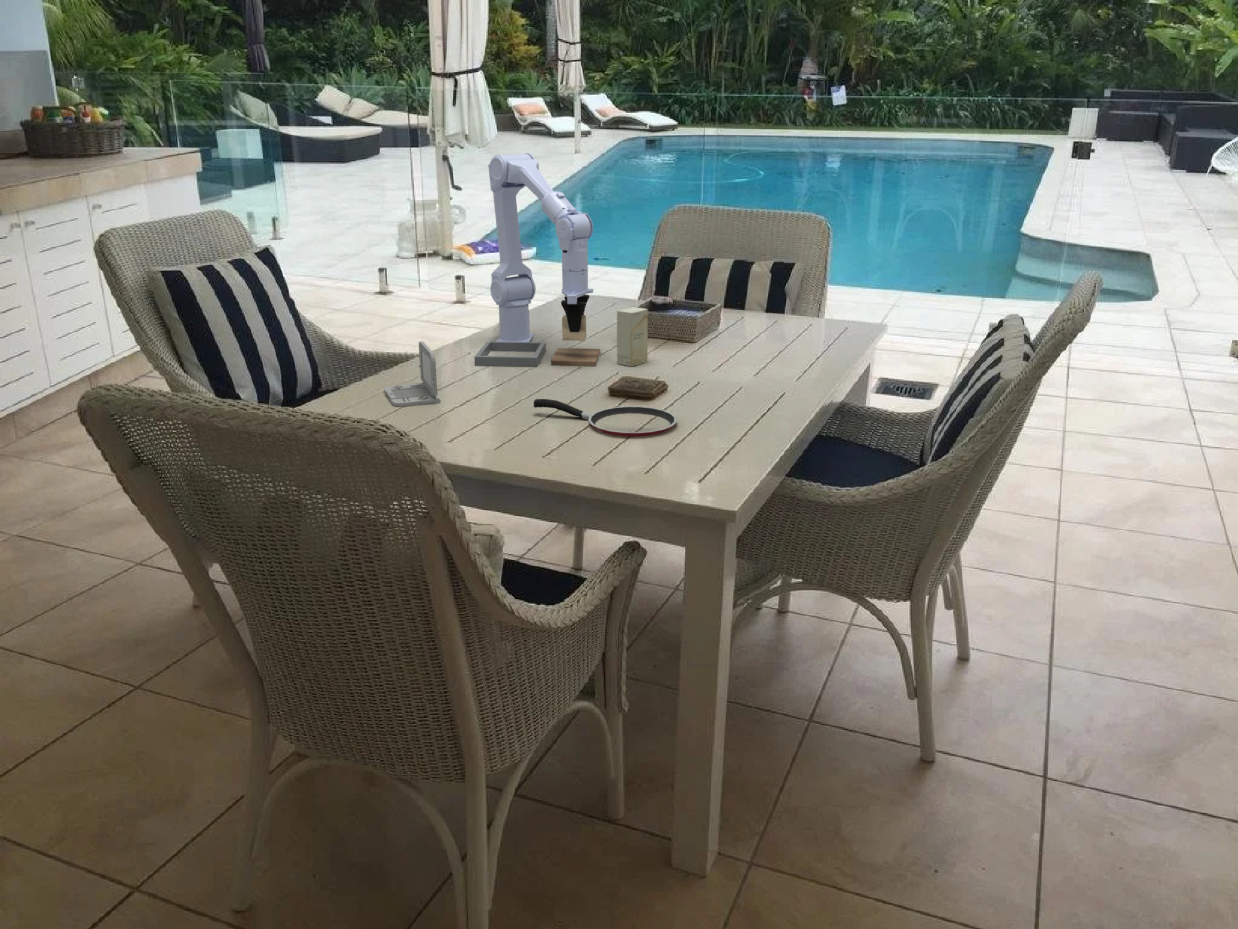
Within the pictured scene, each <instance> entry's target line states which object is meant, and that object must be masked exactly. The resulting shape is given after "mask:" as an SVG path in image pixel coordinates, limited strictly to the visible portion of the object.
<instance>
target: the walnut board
mask: <svg viewBox="0 0 1238 929" xmlns="http://www.w3.org/2000/svg"><path fill="white" fill-rule="evenodd" d="M600 354H601V348H572V347H571V348H570V347H569V348H566V347H563V348H561V347H557V348H556V351H554V355H553V356H552V359H551V360H550V366H570V367H571V366H576V367H596V366H597V363H598V360H599V357H600Z"/></svg>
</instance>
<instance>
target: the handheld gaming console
mask: <svg viewBox="0 0 1238 929" xmlns="http://www.w3.org/2000/svg"><path fill="white" fill-rule="evenodd" d="M418 355H419V356H418V357H419V366H418V367H419V370H420V373H419V374H420V381H421V382H413V383H411V384H409V383H407V384H398V385H387V386H384V388H383V390H384V391H383V392H384V394H385V395H386V397H387V398H388V400H389V401H390V403H391V405H392V406H394V407H400V408H401V407H412V406H421V405H430V404H440V403H441V399H440V397H439V396H438V382H437V365H436V364H437V363H436V356H435V353H434V351H433V350H432V349H431V348H430V347H429V346H428V345H427V344H426V343H425V342H424V341H419V342H418Z"/></svg>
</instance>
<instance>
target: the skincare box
mask: <svg viewBox="0 0 1238 929" xmlns="http://www.w3.org/2000/svg"><path fill="white" fill-rule="evenodd" d="M648 311H649V310H648V308H644V307H642V308H641V307H635V306H631V307H628V308H623V309H620V310H619V309H618V310H616V363H617V365H623V366H628V367H634V366H638V365H641V364H646V363H647V362H648V343H649V341H648V336H649V334H648V333H649V332H648V331H649V330H648V329H649V328H648V324H649V323H648V322H649V321H648V320H649V319H648V318H649V316H648V314H649V313H648Z"/></svg>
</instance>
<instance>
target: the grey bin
mask: <svg viewBox="0 0 1238 929" xmlns="http://www.w3.org/2000/svg"><path fill="white" fill-rule="evenodd" d="M483 344H484V345H483V346H482V347H481V348H480V349H479V350H478V351H477V353H476V354H475V355H474V358H473V359H474V366H479V367H482V366H483V367H491V366H492V367H525V368H526V367H529V368H530V367H532V368H533V367H535V368H536V367H538V366H539V365H540V362H541V361H542V359H543V356H544V355H545V352H546V350H547V347H546V346H547V344H546V342H545V341H544V342H542V341H541V342H540V341H530V342H498V341H497V340H495V341H493V340H492V341H488V340H487V341H485V343H483ZM492 351H494V352H495V351H496V352H497V351H498V352H534V354H533V355H532V356H516V355H515V356H514V355H513V356H511V355H510V356H509V355H505V356H504V355H503V356H502V355H488V354H489V353H490V352H492Z"/></svg>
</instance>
